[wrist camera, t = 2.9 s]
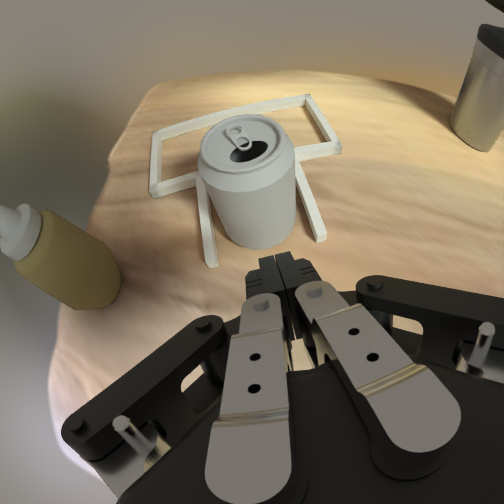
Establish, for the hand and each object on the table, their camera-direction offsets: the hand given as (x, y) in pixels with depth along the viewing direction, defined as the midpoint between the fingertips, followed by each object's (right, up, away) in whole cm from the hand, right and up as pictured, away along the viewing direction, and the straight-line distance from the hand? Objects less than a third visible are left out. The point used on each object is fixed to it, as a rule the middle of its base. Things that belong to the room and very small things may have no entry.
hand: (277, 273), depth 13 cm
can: (0, +4, +17) cm, 17 cm away
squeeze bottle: (-19, -3, +16) cm, 25 cm away
